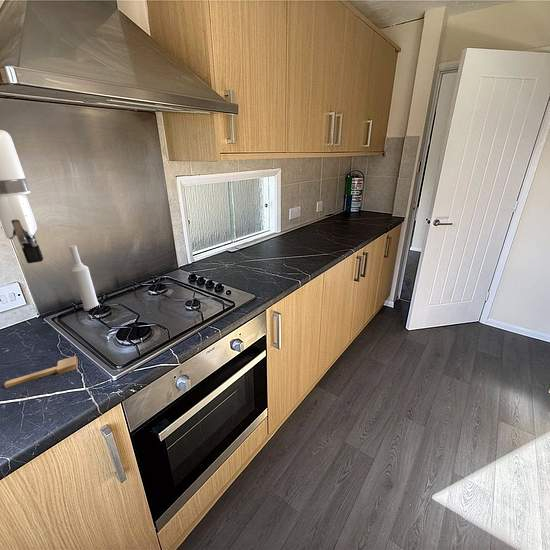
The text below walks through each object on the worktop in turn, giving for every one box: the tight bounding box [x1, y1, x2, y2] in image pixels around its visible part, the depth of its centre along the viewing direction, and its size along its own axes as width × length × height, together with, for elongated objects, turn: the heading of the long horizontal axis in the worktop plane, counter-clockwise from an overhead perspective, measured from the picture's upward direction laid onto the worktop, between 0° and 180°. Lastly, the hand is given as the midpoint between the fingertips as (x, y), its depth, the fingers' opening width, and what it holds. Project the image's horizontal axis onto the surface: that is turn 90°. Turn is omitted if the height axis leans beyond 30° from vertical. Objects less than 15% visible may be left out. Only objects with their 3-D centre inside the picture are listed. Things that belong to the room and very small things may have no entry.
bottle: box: [68, 244, 100, 312], centre depth 106 cm, size 5×5×25 cm
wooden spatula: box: [3, 355, 79, 389], centre depth 78 cm, size 16×4×2 cm, turn 120°
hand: (35, 261), depth 76 cm, fingers closed
